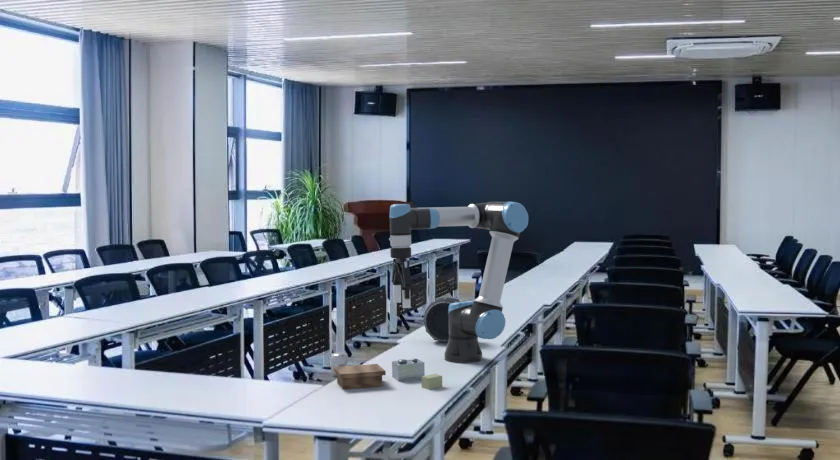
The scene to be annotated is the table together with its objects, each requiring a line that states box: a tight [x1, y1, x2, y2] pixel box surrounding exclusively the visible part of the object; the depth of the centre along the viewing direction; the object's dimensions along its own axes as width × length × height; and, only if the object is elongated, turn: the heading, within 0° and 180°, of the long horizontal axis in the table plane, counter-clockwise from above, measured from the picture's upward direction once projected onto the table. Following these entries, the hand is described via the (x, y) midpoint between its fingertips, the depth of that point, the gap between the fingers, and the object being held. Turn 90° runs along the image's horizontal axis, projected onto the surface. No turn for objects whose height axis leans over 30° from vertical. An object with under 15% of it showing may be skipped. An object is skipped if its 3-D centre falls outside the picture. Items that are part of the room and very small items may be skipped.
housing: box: [391, 358, 426, 382], centre depth 305 cm, size 10×7×7 cm
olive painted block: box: [421, 373, 443, 390], centre depth 290 cm, size 6×4×4 cm, turn 128°
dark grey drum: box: [422, 296, 461, 344], centre depth 372 cm, size 11×20×20 cm, turn 78°
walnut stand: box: [334, 363, 387, 390], centre depth 295 cm, size 16×12×6 cm
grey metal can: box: [330, 352, 348, 378], centre depth 309 cm, size 6×6×8 cm
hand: (401, 305), depth 304 cm, fingers open, 13 cm apart
